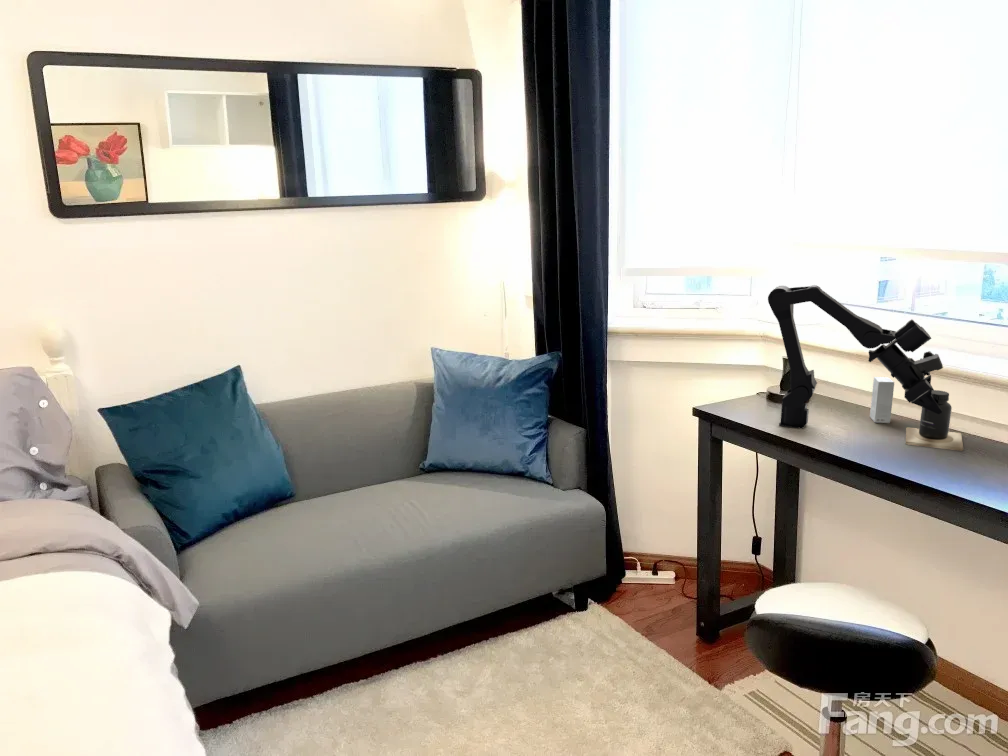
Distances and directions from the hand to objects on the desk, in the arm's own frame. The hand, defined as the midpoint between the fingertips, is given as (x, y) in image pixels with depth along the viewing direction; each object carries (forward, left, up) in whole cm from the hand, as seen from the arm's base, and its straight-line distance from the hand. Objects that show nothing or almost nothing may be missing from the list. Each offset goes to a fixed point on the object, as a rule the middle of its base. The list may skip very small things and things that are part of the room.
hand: (940, 408), depth 207 cm
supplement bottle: (-1, 0, -8) cm, 8 cm away
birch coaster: (-1, 0, -9) cm, 9 cm away
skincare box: (-15, +13, -9) cm, 22 cm away
